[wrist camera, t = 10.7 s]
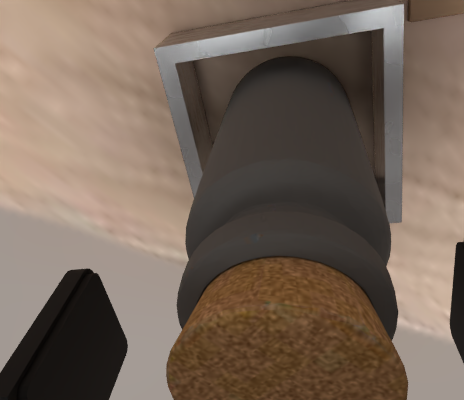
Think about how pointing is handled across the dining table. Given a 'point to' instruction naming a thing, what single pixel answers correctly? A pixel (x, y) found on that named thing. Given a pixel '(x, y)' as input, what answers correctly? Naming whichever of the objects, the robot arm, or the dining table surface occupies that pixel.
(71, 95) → the dining table surface
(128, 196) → the dining table surface
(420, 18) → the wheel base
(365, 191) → the bottle
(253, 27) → the collar
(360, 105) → the dining table surface
